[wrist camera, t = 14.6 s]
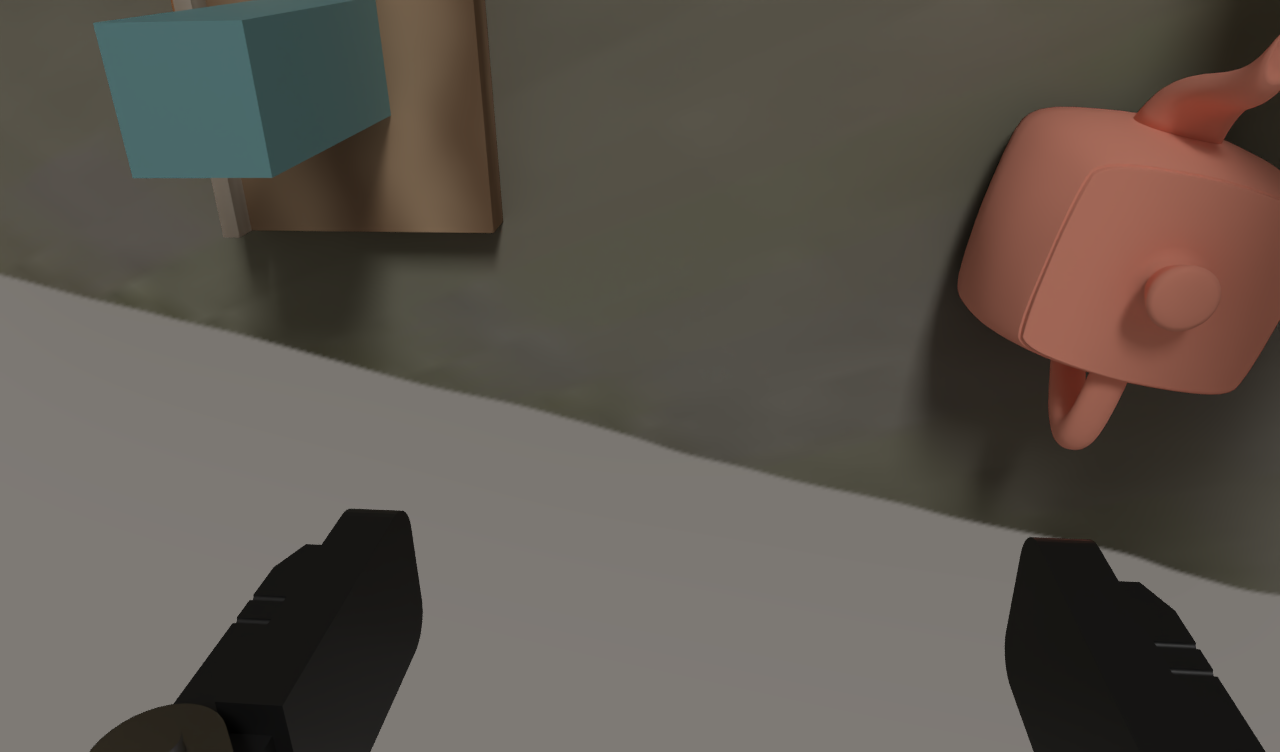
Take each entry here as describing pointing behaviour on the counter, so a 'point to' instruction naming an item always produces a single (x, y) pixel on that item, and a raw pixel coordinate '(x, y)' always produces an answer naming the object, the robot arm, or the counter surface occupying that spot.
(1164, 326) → the teapot
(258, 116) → the tea box
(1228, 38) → the counter surface
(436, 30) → the shelf
